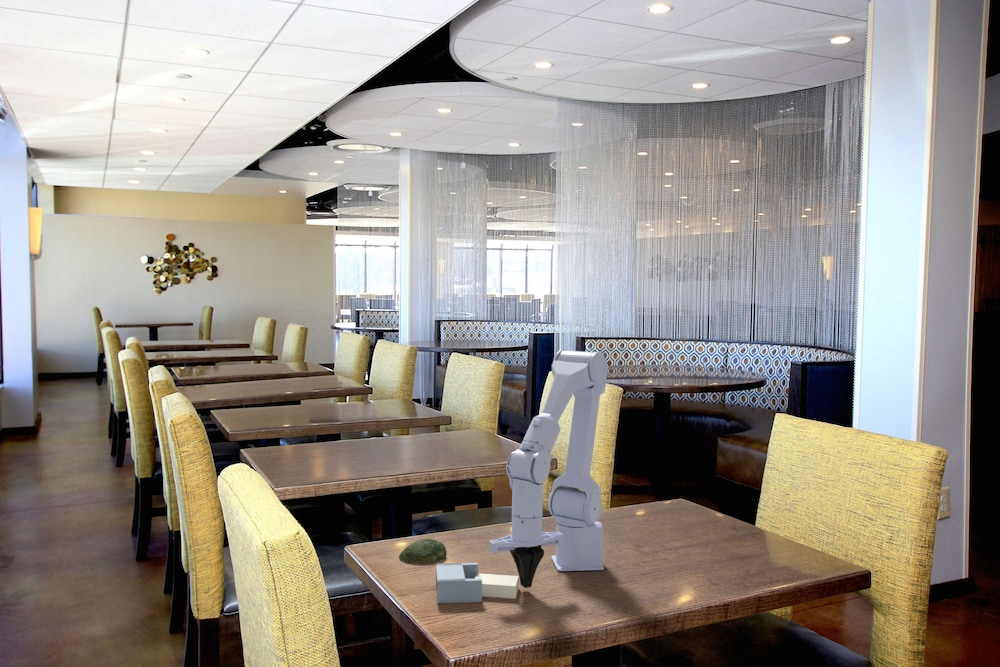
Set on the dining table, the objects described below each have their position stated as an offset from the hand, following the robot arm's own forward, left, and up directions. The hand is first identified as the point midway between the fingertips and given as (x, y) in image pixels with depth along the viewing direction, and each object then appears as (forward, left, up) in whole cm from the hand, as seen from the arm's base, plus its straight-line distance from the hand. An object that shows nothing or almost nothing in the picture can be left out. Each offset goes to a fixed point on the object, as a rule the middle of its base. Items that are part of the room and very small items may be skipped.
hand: (525, 585), depth 145 cm
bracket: (+13, 0, -1) cm, 13 cm away
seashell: (+19, -20, -2) cm, 28 cm away
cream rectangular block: (+6, 0, -1) cm, 6 cm away
